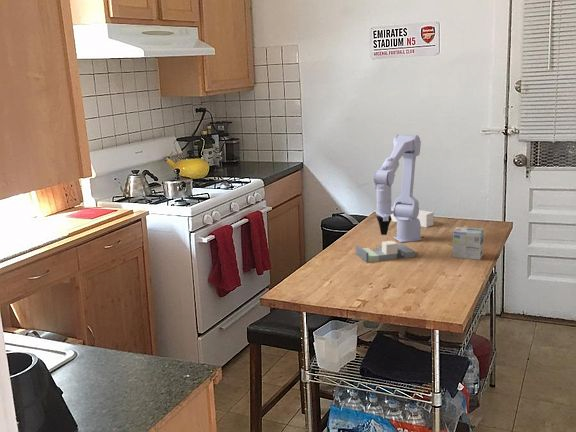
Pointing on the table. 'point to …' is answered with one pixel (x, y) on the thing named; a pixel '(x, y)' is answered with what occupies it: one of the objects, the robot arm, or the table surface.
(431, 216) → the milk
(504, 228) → the table surface
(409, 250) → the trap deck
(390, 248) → the block
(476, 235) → the light bulb box
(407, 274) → the table surface
